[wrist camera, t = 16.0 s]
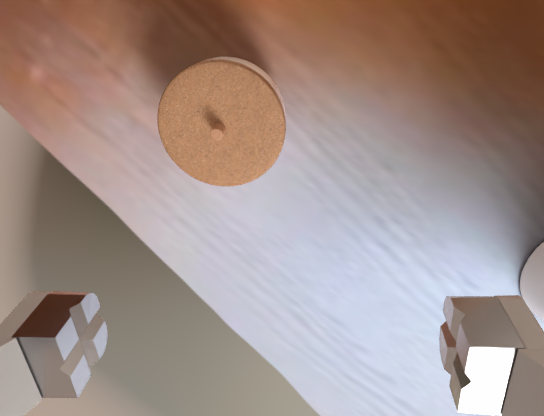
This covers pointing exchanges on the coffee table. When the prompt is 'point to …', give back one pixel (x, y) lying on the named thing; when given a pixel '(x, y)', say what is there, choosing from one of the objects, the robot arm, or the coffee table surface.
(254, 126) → the lidded jar
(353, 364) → the coffee table surface
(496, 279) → the coffee table surface
